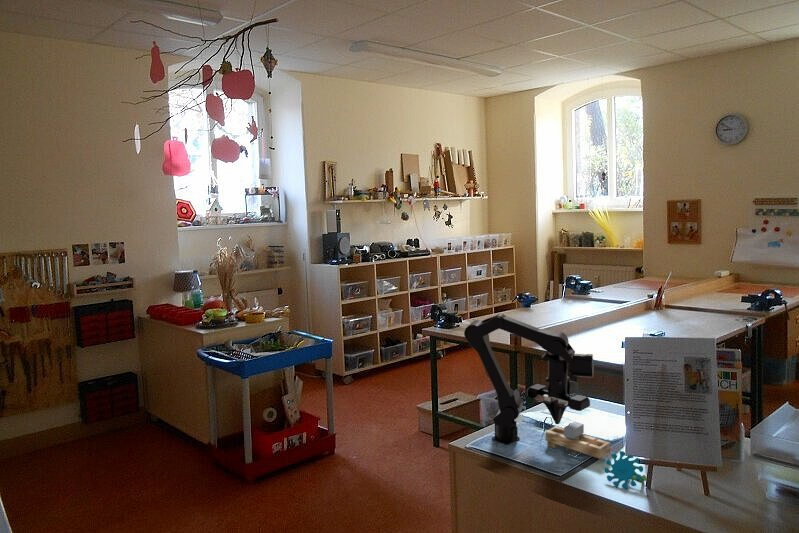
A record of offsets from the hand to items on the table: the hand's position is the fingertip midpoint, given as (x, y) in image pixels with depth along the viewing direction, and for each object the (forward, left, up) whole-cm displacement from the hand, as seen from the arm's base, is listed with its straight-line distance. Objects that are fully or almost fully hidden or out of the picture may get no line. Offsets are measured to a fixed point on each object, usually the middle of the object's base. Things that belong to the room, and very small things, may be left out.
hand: (557, 423), depth 184 cm
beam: (+7, 0, -7) cm, 10 cm away
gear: (+26, -8, -7) cm, 28 cm away
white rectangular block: (+6, 0, -4) cm, 7 cm away
